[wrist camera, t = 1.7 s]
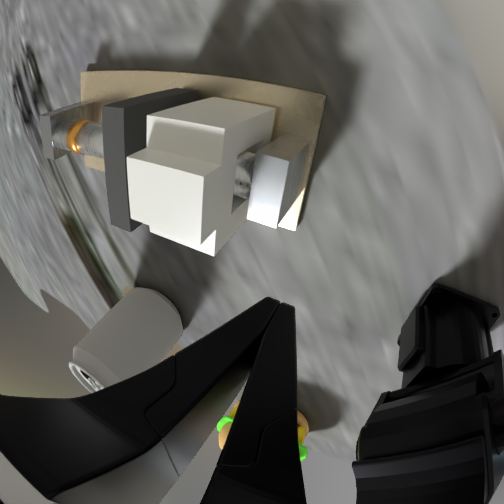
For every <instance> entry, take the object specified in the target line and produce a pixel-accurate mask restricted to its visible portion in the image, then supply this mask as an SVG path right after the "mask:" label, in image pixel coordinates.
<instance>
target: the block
mask: <svg viewBox="0 0 504 504" xmlns="http://www.w3.org/2000/svg"><path fill="white" fill-rule="evenodd" d="M195 101H197V90H192V89H184V88H173V89H168V90H163V91H159V92H154V93H150V94H145V95H141V96H137V97H133V98H129V99H125V100H121V101H118V102H114V103H111V104H107V105H104V106H102V133H103V151H104V164H105V176H106V186H107V196H108V204H109V212H110V220H111V224H112V225H114V226H117V227H119V228H121V229H124V230H126V231H129V232H132V231H133V230H134V229H136V228H137V227H138V226H140V225H141V224H142V223H141V222H139V221H136V220H134V219H131V215H130V203H129V191H128V175H127V156H129V155H132V154H134V153H136V152H138V151H140V150H142V149H145V148H147V115H149V114H152V113H156V112H159V111H162V110H166V109H169V108H173V107H176V106H180V105H183V104H187V103H191V102H195Z"/></svg>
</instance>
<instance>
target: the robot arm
mask: <svg viewBox="0 0 504 504" xmlns="http://www.w3.org/2000/svg"><path fill="white" fill-rule="evenodd" d="M435 290H439V291H438V292H434V291H435ZM493 313H495V314H493ZM499 316H500V310H499V308H498V307H496V306H494V305H492V304H489V303H487V302H484V301H482V300H479V299H477V298H474V297H472V296H469V295H467V294H464V293H462V292H459V291H457V290H454V289H452V288H449V287H447V286H444V285H441V284H438V283H436V284H433V285H432V286H431V287H430V289H429V290H428V292H427V294H426V295H425V297H424V299H423V300H422V302H421V303H420V305H417V306H416V307H415V308H414V309H413V311H412V313H411V314H410V316H409V317H408V319H407V320H406V322H405V323H404V325H403V326H402V328H401V334H400V335H399V337H398V341H397V343H398V345H399V346H400V350H399V360H398V369H399V371H401V372H403V380H402V388H401V389H399V390H396V391H392V392H390V391H388V392H384V393H382V394H381V396H380V398H379V400H378V402H377V404H376V405H375V407H374V409H373V411H372V413H371V415H370V417H369V418H368V420H367V422H366V424H365V426H363V427H362V429H361V431H360V435H359V437H358V441H357V446H356V460H357V461H353V462H352V468H353V471H354V474H355V478H356V487H357V500H356V504H489V502H490V500H491V498H492V496H493V495H494V493H495V491H496V489H497V487H498V486H499V484H500V482H501V480H502V478H503V476H504V355H503V353H502V350H501V349H500V350H498V351H496V352H493V346H492V340H491V335H490V328H491V327H492V325H493V324H494V323H495V322H496V320H497V319H498V318H499ZM247 379H248V380H247ZM246 381H247V383H246V386H245V389H244V392H243V394H242V397H241V400H240V403H239V406H238V408H237V411H236V414H235V417H234V419H233V422H232V425H231V428H230V430H229V433H228V436H227V438H226V441H225V444H224V446H223V449H222V452H221V454H220V457H219V460H218V462H217V465H216V468H215V470H214V473H213V475H212V478H211V480H210V482H209V485H208V487H207V489H206V492H205V494H204V496H203V498H202V500H201V503H200V504H307V503H306V497H305V489H304V482H303V476H302V469H301V461H300V452H299V443H298V418H297V354H296V319H295V307H294V306H292V305H289V304H286V303H284V302H282V303H281V304H280V301H279V300H276V299H273V298H271V297H266V298H264V299H262V300H261V301H259V302H258V303H256V304H255V305H253V306H252V307H250V308H248V309H247V310H245V311H244V312H242V313H241V314H239V315H237V316H236V317H234V318H233V319H231V320H229V321H228V322H226V323H225V324H223V325H222V326H220V327H218V328H217V329H215V330H213V331H212V332H210V333H209V334H207V335H205V336H204V337H202V338H200V339H199V340H197V341H196V342H194V343H192V344H191V345H189V346H187V347H186V348H184V349H182V350H181V351H179V352H177V353H176V354H175V356H174V355H172V356H170V357H169V358H167V359H165V360H164V361H162V362H160V363H158V364H157V365H155V366H153V367H151V368H149V369H147V370H145V371H143V372H141V373H139V374H137V375H134V376H132V377H130V378H128V379H125V380H123V381H120V382H118V383H116V384H113V385H111V386H108V387H106V388H103V389H101V390H98V391H96V392H93V393H91V394H88V395H84V396H81V397H76V398H65V399H64V398H32V397H15V396H6V395H1V394H0V504H159V503H160V501H161V500H162V499H163V498H164V496H165V495H166V494H167V492H168V491H169V490H170V488H171V487H172V486H173V485H174V483H175V482H176V481H177V479H178V478H179V476H180V475H181V474H182V473H183V471H184V470H185V469H186V467H187V466H188V465H189V463H190V462H191V460H192V459H193V458H194V456H195V455H196V454H197V452H198V451H199V449H200V448H201V447H202V445H203V444H204V442H205V441H206V440H207V438H208V437H209V435H210V434H211V432H212V431H213V430H214V428H215V427H216V425H217V424H218V422H219V421H220V420H221V418H222V417H223V415H224V414H225V412H226V411H227V409H228V408H229V406H230V405H231V403H232V402H233V400H234V399H235V397H236V396H237V394H238V393H239V391H240V390H241V388H242V387H243V385H244V384H245V382H246Z"/></svg>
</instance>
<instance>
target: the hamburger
mask: <svg viewBox="0 0 504 504" xmlns="http://www.w3.org/2000/svg"><path fill="white" fill-rule="evenodd" d="M239 403H240V401H238V402H237V403H236V404H235V407H234V408H233V409H232V411H231V412H230V415H229V416H225V417H223V418H221V420H220V421H219V422H218V424H217V430H218V431H219V432H220V433H219V445H220V448H221V450H222V449H223V446H224V444H225V441H226V438H227V436H228V433H229V430H230V428H231V425H232V422H233V419H234V417H235V414H236V411H237V408H238V406H239ZM297 418H298V443H299V452H300V461H302V460H303V459H304V458H306V457H307V451H308V450H307V448H306V447H305V446H302V444H303V442H304V439H305V437H306V436H307V434H308V432H309V426H308V422H307V420H306V418H305V417H304V416H303V415H302V414H301V413H300V412H299V411H298V410H297Z"/></svg>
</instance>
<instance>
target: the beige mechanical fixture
mask: <svg viewBox="0 0 504 504" xmlns="http://www.w3.org/2000/svg"><path fill="white" fill-rule="evenodd" d="M173 88H184V89H192V90H197V101H199V100H203V99H207V98H211V97H218V98H224V99H230V100H236V101H242V102H247V103H252V104H258V105H263V106H267V107H272V108H276V112H275V118H274V124H273V130H272V136H271V143H269V144H267V145H266V146H264V147H263V148H261V149H260V150H258V151H257V152H256V153H252V152H248V151H243V152H242V153H240V154H238V158H237V166H236V175H235V184H234V193H233V195H235V196H239V197H242V198H245V199H248V200H249V205H248V212H247V219H249V220H252V221H255V222H258V223H261V224H264V225H267V226H270V227H273V228H277V226H281V227H284V228H287V229H290V230H293V231H295V230H296V228H297V226H298V222H299V218H300V214H301V210H302V206H303V201H304V197H305V193H306V188H307V184H308V180H309V175H310V171H311V167H312V162H313V158H314V153H315V148H316V144H317V139H318V135H319V130H320V125H321V120H322V116H323V111H324V106H325V101H326V96H327V95H323V94H319V93H315V92H311V91H306V90H302V89H297V88H293V87H288V86H283V85H278V84H272V83H267V82H261V81H255V80H249V79H242V78H235V77H228V76H219V75H211V74H201V73H189V72H175V71H156V70H98V71H84V72H81V102H79V103H76V104H72V105H69V106H66V107H63V108H60V109H57V110H54V111H51V112H48V113H45V114H42V115H40V124H41V134H42V143H43V151H44V157H45V158H49V159H53V160H55V159H57V158H60V157H62V156H64V155H66V154H68V153H70V152H74V153H78V154H82V155H85V165H86V166H87V167H90V168H94V169H97V170H101V171H105V164H104V151H103V133H102V106H104V105H107V104H111V103H114V102H118V101H121V100H125V99H129V98H133V97H137V96H141V95H145V94H150V93H154V92H159V91H163V90H168V89H173Z"/></svg>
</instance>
